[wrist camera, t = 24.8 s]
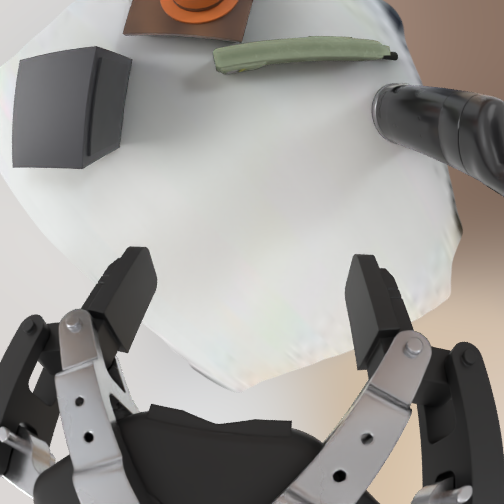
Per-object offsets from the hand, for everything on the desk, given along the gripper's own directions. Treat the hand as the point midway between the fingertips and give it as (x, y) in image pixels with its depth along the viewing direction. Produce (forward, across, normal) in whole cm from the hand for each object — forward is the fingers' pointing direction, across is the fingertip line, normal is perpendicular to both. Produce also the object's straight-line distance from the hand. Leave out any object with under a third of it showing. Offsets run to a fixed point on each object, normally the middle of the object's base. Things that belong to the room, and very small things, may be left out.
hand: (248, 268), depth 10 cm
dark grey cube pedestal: (+24, -23, +7) cm, 34 cm away
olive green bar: (+30, +5, +11) cm, 32 cm away
